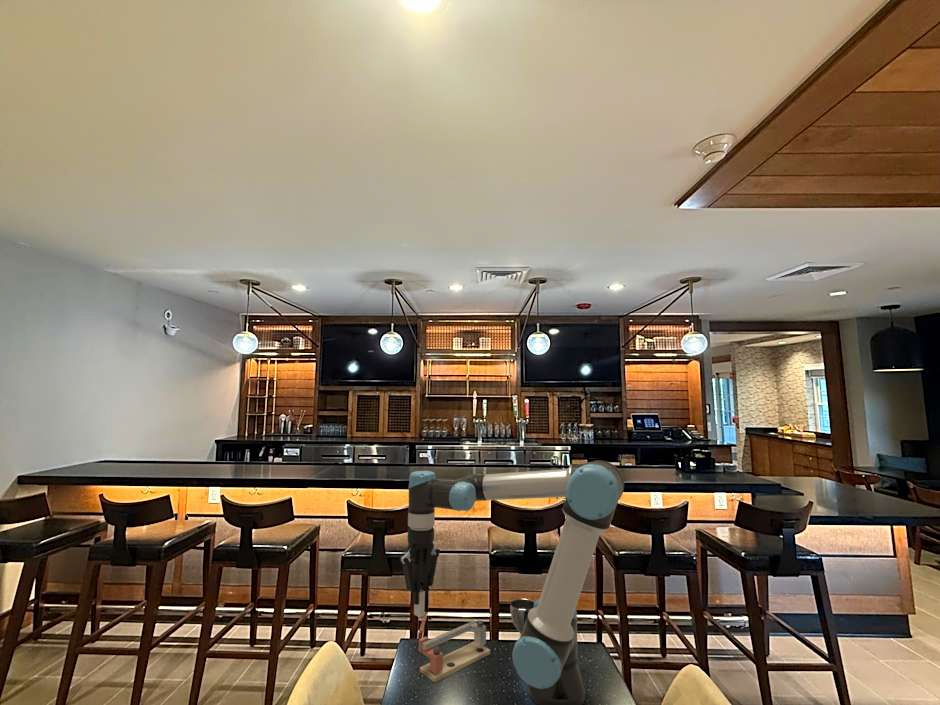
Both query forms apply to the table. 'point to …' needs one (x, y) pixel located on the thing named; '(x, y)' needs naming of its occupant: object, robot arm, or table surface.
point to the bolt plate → (456, 661)
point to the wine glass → (520, 612)
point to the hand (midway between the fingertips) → (419, 615)
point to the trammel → (471, 626)
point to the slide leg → (432, 656)
